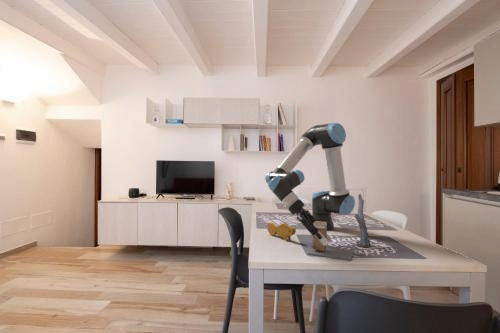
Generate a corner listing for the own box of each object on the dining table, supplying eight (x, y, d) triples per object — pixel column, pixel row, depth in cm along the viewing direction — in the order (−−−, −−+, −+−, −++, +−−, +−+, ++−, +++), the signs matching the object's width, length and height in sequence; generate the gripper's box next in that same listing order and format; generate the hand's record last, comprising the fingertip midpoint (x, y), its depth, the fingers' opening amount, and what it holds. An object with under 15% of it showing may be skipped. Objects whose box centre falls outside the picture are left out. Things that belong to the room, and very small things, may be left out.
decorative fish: (298, 240, 141) (295, 220, 143) (293, 241, 139) (290, 221, 141) (272, 240, 159) (270, 222, 161) (268, 241, 157) (265, 223, 159)
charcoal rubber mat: (315, 246, 136) (315, 244, 136) (354, 251, 128) (354, 250, 128) (307, 254, 123) (307, 252, 123) (350, 260, 115) (350, 259, 115)
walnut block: (315, 246, 130) (315, 221, 130) (326, 248, 128) (326, 222, 128) (312, 249, 126) (313, 222, 126) (324, 250, 124) (324, 224, 124)
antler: (372, 248, 133) (372, 196, 133) (354, 247, 135) (355, 195, 135) (367, 241, 144) (368, 193, 144) (351, 240, 146) (352, 193, 146)
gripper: (293, 206, 142) (326, 242, 135) (281, 211, 126) (317, 253, 118) (304, 196, 139) (337, 233, 132) (292, 200, 123) (330, 242, 116)
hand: (328, 242), depth 125 cm, fingers closed on walnut block, 5 cm apart
